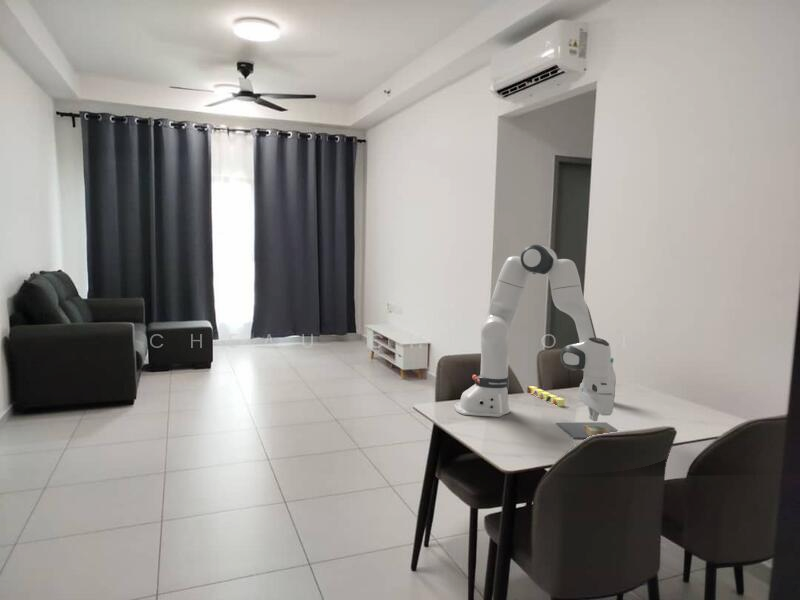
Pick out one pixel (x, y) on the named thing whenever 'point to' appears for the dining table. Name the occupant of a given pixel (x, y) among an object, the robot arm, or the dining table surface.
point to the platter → (545, 395)
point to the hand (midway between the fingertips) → (593, 420)
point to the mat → (577, 428)
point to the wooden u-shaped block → (595, 429)
